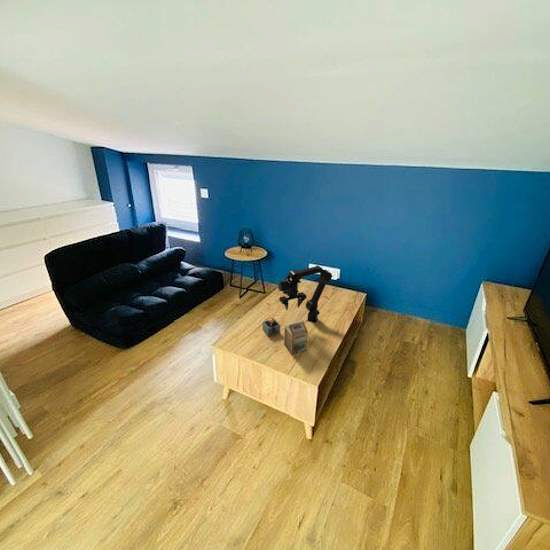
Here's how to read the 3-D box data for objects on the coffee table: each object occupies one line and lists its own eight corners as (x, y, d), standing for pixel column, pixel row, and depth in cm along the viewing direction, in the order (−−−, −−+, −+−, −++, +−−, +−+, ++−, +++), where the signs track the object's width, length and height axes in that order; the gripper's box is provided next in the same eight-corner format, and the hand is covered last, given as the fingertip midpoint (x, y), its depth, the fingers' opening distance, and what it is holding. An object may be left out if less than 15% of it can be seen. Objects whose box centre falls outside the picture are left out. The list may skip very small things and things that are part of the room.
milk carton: (291, 354, 180) (292, 329, 172) (284, 344, 189) (284, 319, 181) (306, 350, 184) (308, 325, 176) (298, 341, 193) (300, 316, 185)
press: (274, 326, 208) (274, 318, 205) (281, 335, 199) (281, 326, 196) (262, 329, 204) (262, 321, 201) (269, 338, 195) (269, 330, 192)
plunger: (273, 326, 206) (273, 315, 202) (277, 331, 201) (277, 320, 197) (264, 329, 203) (264, 318, 200) (269, 334, 198) (269, 323, 194)
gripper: (299, 281, 209) (298, 300, 216) (275, 286, 201) (275, 306, 208) (307, 287, 200) (306, 307, 207) (283, 293, 192) (282, 313, 199)
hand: (292, 308), depth 205 cm, fingers open, 9 cm apart
